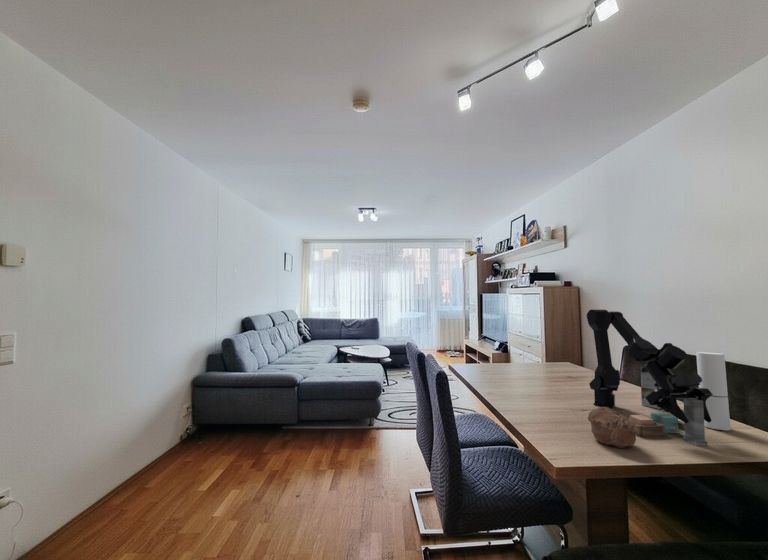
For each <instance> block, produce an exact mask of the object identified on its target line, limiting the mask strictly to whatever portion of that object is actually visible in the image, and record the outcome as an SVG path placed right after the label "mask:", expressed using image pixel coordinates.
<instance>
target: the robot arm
mask: <svg viewBox="0 0 768 560" xmlns="http://www.w3.org/2000/svg"><path fill="white" fill-rule="evenodd" d="M586 320H587V324H588V326H589V327H590V328H591V329H592V331H593V338H594V346H595V354H596V359H597V361H596V362H597V367H596V368H595V370H594V378H593V379H592V380H591V381H590V382H589V387H590V389H591V390H593V391H594V392H593V393H594V402H593V405H594V406H598V407H608V408H610V409H613V408H614V407H615V405H616V394H614V392H618V389H619V387H620V383H621V381H622V379H621V377H620V370H618V369H616V368H615V367H614V365H613V360H612V354H611V347H610V342H609V341H610V339H609V334H608V330H609V328H610V326H612V327H614V329H615V330H616V331H617V332H618V334H619V335H620V336H621V338H623V340H624V341H625V342H626V344H627V345H628V346H627V349H628V350H627V351H628V352H629V354H630V355H631V357H632V359H634V361H636V362H643V363H644V362H647V363H646V364H642V365H641V366H642V369H641V368H640V373H641V372H642V373H649V374H650V375H651V377H652V378H653V379H654V381H655V382H656V383H655V384H654V385H655V387H660V389H654V390H653V391H652V392H651V393H650V394H649V395H647V401H648V402H649V404H650V405H657V407H660V409H662V410H664V411H665V412H666V413H668V414H670V415H673V416H675V417H677V418H678V420H679V421H680V422H683V423H688V422H689V421H688V419H687V417H686V416H685V414H684V410H682V409H681V407H680V406H679V405H678V401H677V400H683V398H694V399H698V400H701V401H703V407H704V420H706V421H707V422H711V418H710V415H709V412H708V410H707V407H706V400H707V399H708V398H709V397H711V396H712V395H713V394H712V393H711V392H710V391H709V390H708V389H706V388H699V387H694V388H693V389H692V388H691V387H693V386H699V385H700V382H702V378H701V377H700V376H699V375H698V372H697V371H696V372H688V373H687V374H681V375H678V374H674V373H673V372H672V371H671V370H675V369H676V368H678V367H679V366H680V364H682V363H683V362H684V361H685V360H686V359H687V358H688V354H687V352H686V351H685V350H684V349H682V348H680V347H678V346H676V345H674V344H673V343H671V342H665V343H664V344H663V345H662V347H661V348H659V349H658V348H657V347H656V346H655V345H654V344H653V343H651V341H648V340H647V339H645V338H643V337H642V336H641V335H640V334H639V333H638V332H637V331H636V330H635V328H633V326H632V325H631V324H630V323H629V321H628V320H627V319H626V318H625V317H624V314H623V313H622V312H620V311H616V310H615V311H608V310H607V309H589V310H588V311H587V313H586ZM691 389H692V390H691ZM689 390H690V391H689ZM687 391H689V392H687Z"/></svg>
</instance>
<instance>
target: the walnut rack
mask: <svg viewBox="0 0 768 560" xmlns="http://www.w3.org/2000/svg"><path fill="white" fill-rule="evenodd" d="M653 422H654V425H637V424H635V425H636V427H637V428H638V430H639V432H638V433H637V435H636V437H638V436H639V437H663V436H664V435H666V433H665V425H663V424H660V423H658V422H655V421H653ZM678 429H680V430H682V431H685V424H684V422H683V421H681V420H678Z"/></svg>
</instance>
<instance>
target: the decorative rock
mask: <svg viewBox="0 0 768 560" xmlns="http://www.w3.org/2000/svg"><path fill="white" fill-rule="evenodd" d="M587 416H588V417H587V420H588V421H589V423H590V425H591V429H590V430H591V433H592V434H593V437H594V439H595V440H597V441H599V442H600V444H605V445H609V446H613V447H615V448H618V449H623V448H629V447H633V446H634V445H635V443H636V441H637V436H636V435H637V433H638V432H639V430H638V428H637V427H636V425H635V423H633V422H632V421H631V420H630V418H628V417H627V416H625V414H623V413H621V412H619V411H616V410H615V409H613V408H609V407H603V406H598V407H597V408H594V409H592V410H591V411H589V413H588V415H587Z"/></svg>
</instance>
